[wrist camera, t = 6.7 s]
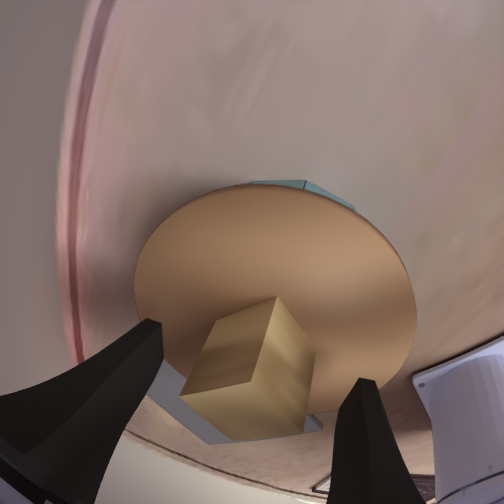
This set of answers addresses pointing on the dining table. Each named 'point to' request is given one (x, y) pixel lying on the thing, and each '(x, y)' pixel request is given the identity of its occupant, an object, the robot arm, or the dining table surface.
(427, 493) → the chocolate bar
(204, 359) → the lid
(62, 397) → the robot arm
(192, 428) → the mat
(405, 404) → the dining table surface
